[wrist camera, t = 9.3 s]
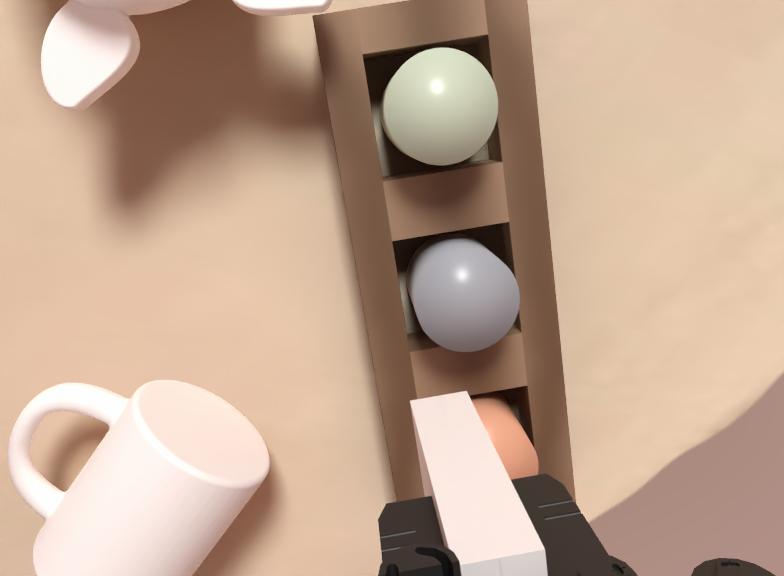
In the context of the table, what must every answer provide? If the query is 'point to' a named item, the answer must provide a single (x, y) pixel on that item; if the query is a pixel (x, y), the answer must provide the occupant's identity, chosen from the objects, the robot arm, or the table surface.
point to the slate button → (462, 292)
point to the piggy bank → (116, 42)
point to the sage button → (440, 106)
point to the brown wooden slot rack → (450, 222)
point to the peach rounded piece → (506, 435)
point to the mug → (140, 480)
